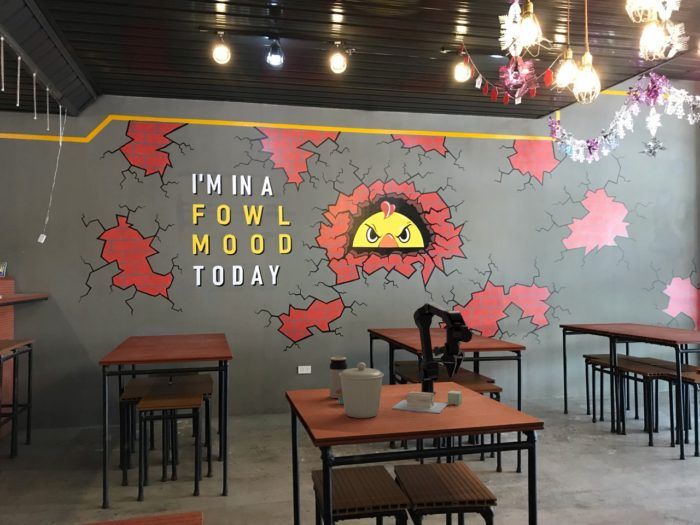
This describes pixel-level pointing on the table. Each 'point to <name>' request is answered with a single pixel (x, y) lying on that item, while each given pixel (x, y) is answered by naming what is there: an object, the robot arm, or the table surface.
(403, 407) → the board
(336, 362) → the travel mug
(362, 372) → the canister
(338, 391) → the cupcake
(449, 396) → the sage cube
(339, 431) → the table surface
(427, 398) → the birch brick
